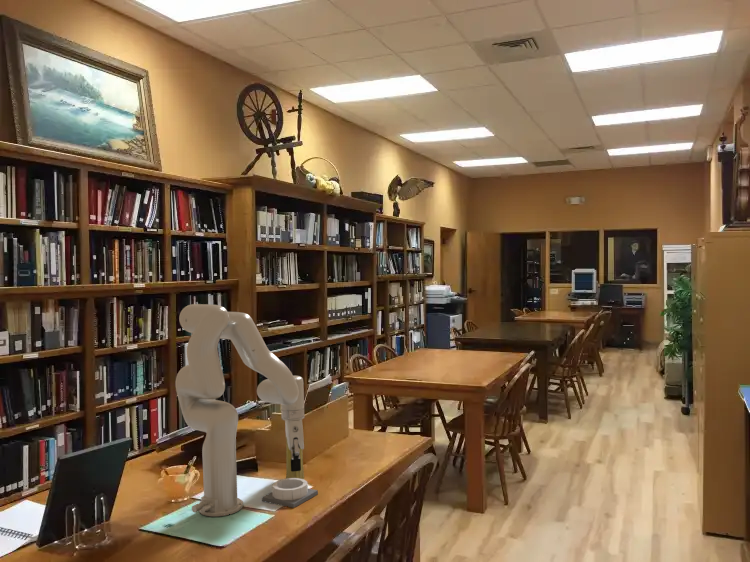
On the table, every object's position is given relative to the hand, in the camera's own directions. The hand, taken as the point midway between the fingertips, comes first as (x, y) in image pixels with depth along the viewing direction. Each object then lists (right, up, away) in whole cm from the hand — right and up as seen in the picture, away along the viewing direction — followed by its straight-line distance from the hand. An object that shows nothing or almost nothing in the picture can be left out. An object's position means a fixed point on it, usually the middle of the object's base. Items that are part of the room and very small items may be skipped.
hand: (294, 467), depth 206 cm
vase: (0, -4, 0) cm, 4 cm away
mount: (+1, -4, -17) cm, 17 cm away
